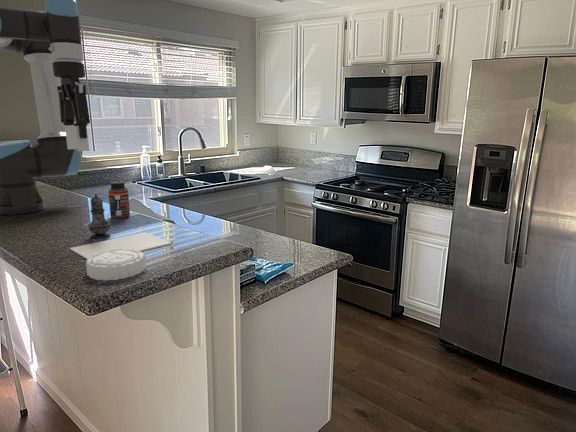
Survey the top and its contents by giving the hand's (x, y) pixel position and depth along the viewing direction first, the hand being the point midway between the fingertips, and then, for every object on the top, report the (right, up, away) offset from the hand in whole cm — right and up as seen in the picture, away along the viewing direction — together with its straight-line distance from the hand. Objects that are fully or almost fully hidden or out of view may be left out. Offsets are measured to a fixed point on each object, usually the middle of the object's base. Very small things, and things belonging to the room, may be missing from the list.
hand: (78, 149), depth 122 cm
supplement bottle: (+4, -19, +21) cm, 29 cm away
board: (+16, -26, -10) cm, 32 cm away
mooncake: (+20, -30, -25) cm, 45 cm away
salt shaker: (+6, -24, -1) cm, 25 cm away
